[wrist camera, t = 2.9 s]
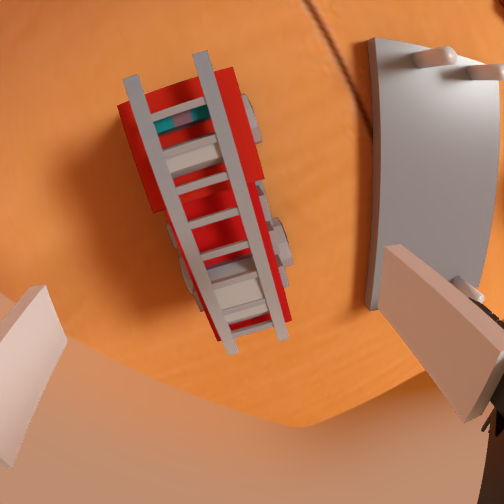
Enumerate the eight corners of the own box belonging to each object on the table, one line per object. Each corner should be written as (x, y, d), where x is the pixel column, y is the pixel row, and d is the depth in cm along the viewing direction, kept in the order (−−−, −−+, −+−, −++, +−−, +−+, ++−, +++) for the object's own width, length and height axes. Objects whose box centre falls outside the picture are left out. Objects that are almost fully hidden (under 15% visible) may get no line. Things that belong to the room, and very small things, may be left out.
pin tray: (367, 40, 22) (402, 26, 17) (488, 68, 23) (526, 68, 18) (364, 303, 33) (388, 337, 27) (471, 281, 34) (500, 304, 28)
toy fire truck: (237, 68, 23) (250, 39, 13) (292, 272, 30) (324, 338, 21) (130, 103, 23) (84, 96, 14) (201, 299, 30) (198, 373, 21)
